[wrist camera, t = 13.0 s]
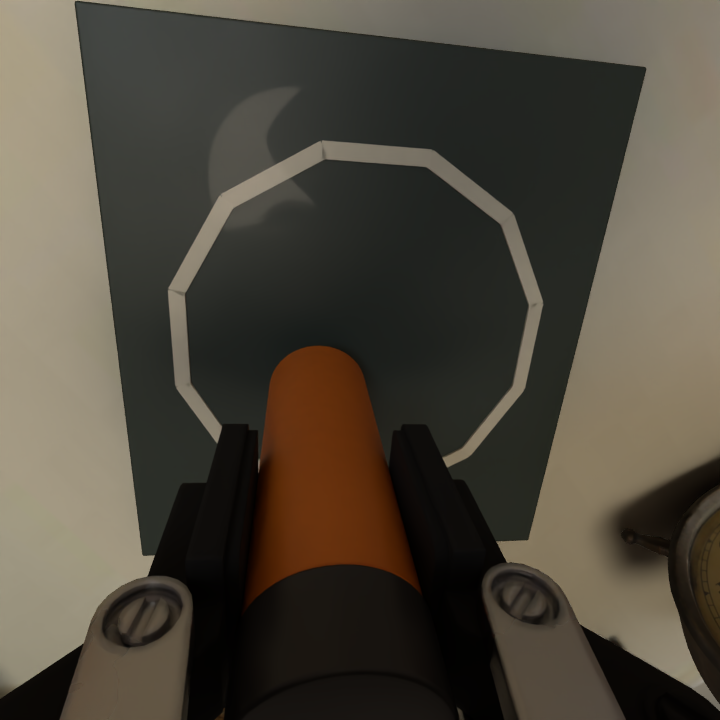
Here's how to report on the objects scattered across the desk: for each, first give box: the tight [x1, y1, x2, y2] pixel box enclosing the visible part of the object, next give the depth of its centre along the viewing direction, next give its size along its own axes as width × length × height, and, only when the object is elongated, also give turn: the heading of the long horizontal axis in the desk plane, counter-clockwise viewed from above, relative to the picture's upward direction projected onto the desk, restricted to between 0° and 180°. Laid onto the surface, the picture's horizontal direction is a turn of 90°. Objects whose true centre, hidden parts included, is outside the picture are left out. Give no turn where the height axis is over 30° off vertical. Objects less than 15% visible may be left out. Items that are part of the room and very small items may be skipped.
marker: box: [224, 346, 459, 720], centre depth 11 cm, size 3×3×10 cm
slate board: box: [75, 1, 646, 556], centre depth 17 cm, size 18×16×1 cm
